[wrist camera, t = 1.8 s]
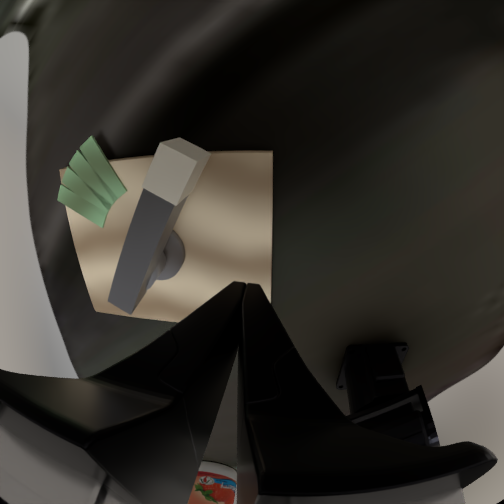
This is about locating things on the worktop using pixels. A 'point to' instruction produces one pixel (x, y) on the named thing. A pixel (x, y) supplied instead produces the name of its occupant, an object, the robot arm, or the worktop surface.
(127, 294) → the peg
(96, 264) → the beige flat board
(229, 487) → the fruit juice
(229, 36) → the worktop surface
